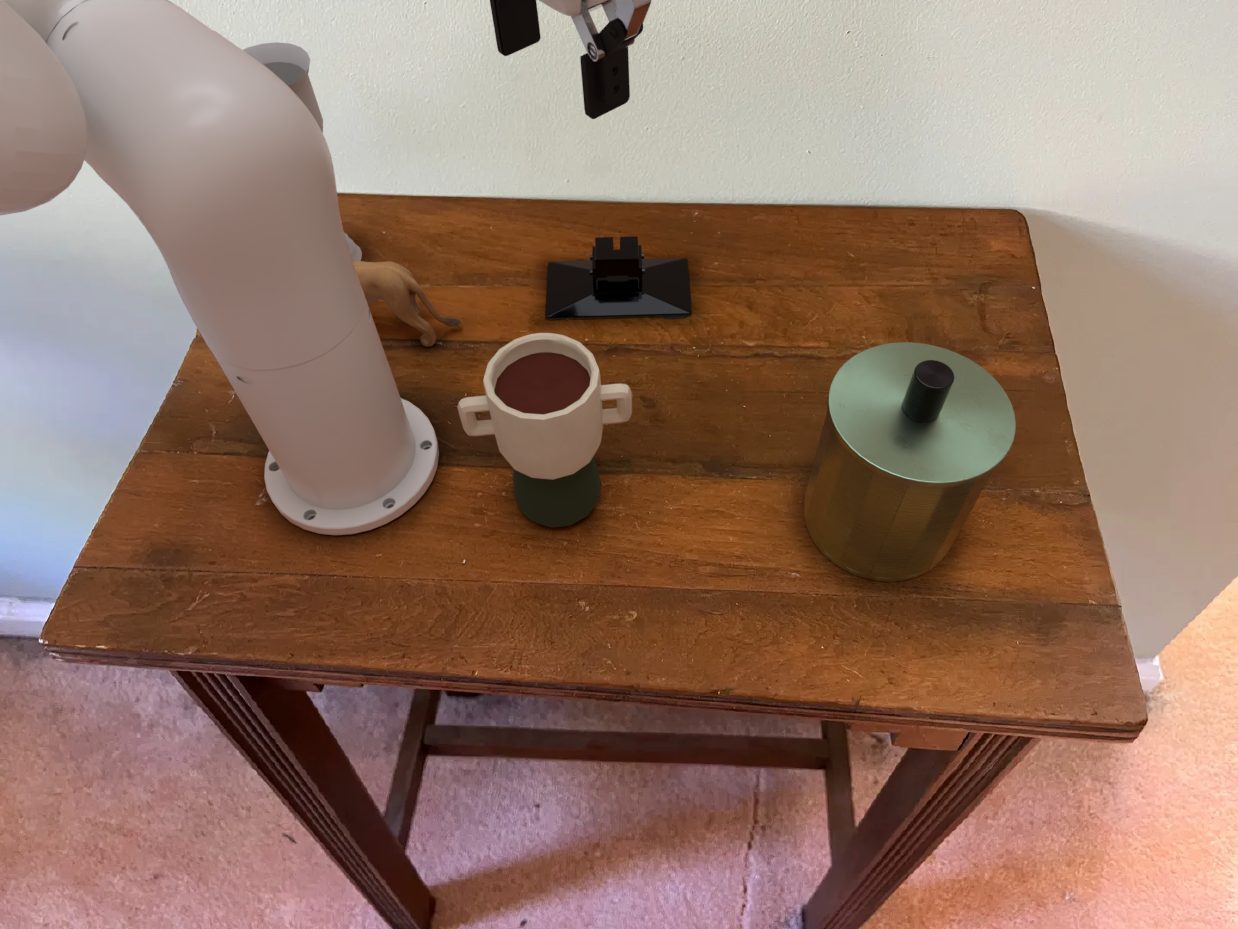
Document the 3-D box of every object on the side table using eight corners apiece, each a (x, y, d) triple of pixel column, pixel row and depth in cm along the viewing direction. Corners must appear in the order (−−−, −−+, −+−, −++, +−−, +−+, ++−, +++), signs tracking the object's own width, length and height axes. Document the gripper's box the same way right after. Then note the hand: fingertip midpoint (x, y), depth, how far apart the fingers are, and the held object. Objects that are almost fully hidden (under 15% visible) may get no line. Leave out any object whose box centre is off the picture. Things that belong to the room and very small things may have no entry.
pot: (773, 510, 61) (796, 405, 52) (869, 437, 65) (907, 327, 56) (885, 610, 57) (932, 514, 47) (982, 525, 60) (1043, 420, 51)
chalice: (362, 285, 76) (296, 94, 62) (286, 285, 77) (203, 95, 62) (378, 232, 81) (320, 41, 66) (306, 232, 81) (232, 42, 66)
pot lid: (787, 411, 53) (797, 365, 49) (904, 329, 56) (920, 281, 53) (930, 527, 48) (951, 484, 44) (1047, 427, 51) (1075, 381, 48)
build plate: (687, 261, 77) (689, 218, 74) (692, 319, 73) (695, 277, 69) (548, 264, 77) (543, 221, 74) (545, 322, 73) (540, 280, 69)
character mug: (628, 449, 65) (625, 324, 54) (638, 529, 61) (637, 410, 50) (482, 462, 64) (451, 339, 54) (483, 544, 60) (449, 428, 50)
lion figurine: (282, 347, 72) (241, 263, 65) (299, 302, 75) (262, 217, 68) (457, 349, 71) (435, 264, 64) (466, 304, 75) (447, 218, 67)
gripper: (701, -224, 40) (691, 111, 54) (495, -301, 48) (533, 7, 62) (572, -178, 38) (597, 161, 52) (377, -268, 46) (444, 46, 60)
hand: (562, 76), depth 57 cm, fingers open, 9 cm apart
